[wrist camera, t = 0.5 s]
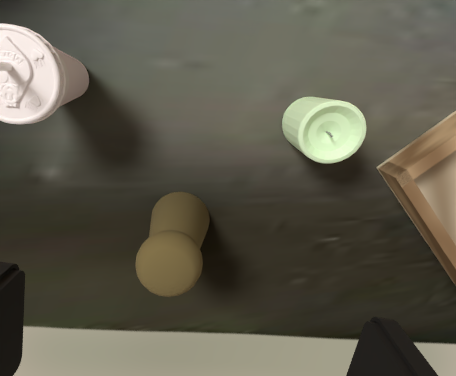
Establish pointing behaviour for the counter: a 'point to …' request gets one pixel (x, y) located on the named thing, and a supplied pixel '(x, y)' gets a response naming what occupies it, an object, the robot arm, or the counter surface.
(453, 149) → the wooden tray
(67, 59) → the smoothie
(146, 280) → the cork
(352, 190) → the counter surface
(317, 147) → the candle
